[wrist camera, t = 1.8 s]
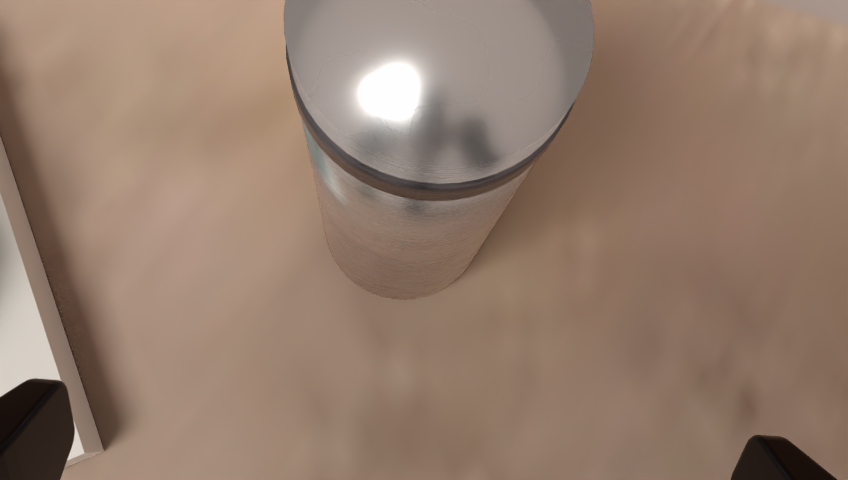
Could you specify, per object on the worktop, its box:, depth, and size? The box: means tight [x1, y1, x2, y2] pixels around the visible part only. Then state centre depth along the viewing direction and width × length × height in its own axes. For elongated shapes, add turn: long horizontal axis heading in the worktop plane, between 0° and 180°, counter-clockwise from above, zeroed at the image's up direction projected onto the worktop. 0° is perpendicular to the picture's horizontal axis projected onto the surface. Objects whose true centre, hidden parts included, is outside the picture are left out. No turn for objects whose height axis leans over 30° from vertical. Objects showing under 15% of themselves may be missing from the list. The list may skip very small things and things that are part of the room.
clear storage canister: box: [284, 0, 594, 299], centre depth 17 cm, size 5×5×12 cm
